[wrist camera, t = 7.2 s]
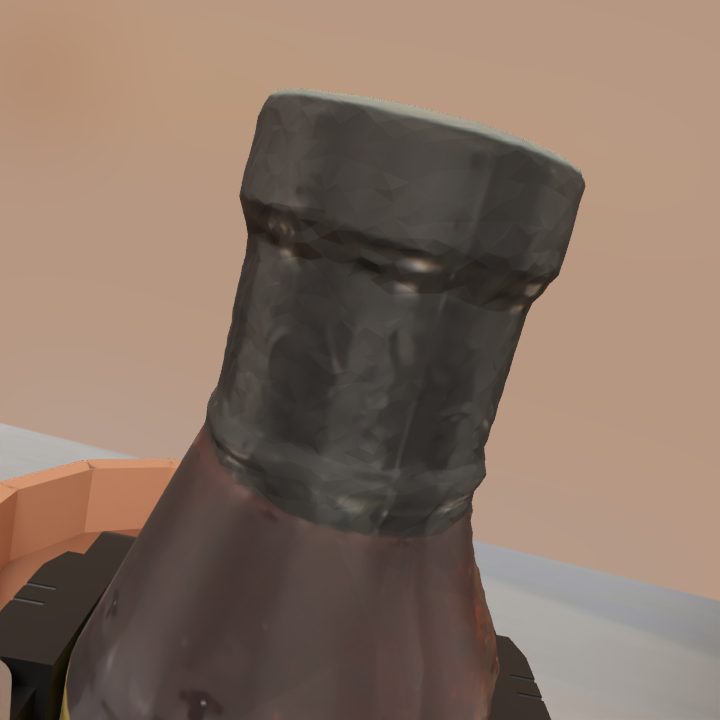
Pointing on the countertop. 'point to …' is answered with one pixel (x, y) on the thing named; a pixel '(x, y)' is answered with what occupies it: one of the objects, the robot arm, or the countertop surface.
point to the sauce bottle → (341, 432)
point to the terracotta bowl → (73, 511)
